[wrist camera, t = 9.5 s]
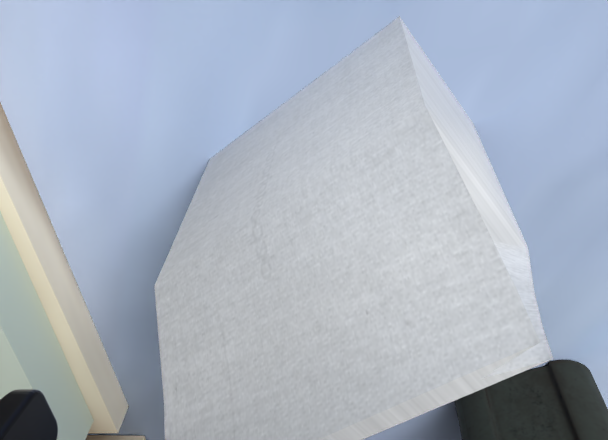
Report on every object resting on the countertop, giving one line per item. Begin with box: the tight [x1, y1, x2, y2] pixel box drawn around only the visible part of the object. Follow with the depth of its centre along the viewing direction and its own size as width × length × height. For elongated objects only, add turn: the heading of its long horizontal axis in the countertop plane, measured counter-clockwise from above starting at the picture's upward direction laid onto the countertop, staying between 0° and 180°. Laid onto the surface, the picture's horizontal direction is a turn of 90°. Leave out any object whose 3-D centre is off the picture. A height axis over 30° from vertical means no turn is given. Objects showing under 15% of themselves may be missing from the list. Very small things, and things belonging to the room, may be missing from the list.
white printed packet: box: [154, 16, 553, 440], centre depth 12 cm, size 4×7×10 cm, turn 129°
